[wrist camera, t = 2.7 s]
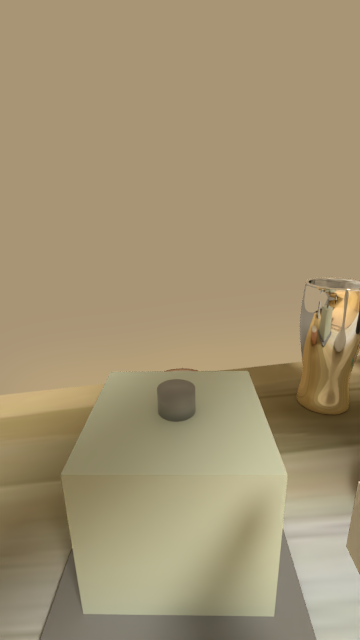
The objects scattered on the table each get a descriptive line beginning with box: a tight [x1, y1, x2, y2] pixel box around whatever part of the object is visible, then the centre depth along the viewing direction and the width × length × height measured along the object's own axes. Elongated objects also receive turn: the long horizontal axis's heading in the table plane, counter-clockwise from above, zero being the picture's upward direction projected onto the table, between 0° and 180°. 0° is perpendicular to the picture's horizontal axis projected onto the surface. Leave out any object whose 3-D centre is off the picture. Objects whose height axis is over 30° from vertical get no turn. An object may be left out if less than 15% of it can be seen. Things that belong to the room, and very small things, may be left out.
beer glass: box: [297, 277, 360, 415], centre depth 39 cm, size 7×7×15 cm
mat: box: [40, 530, 316, 640], centre depth 24 cm, size 15×15×1 cm
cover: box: [61, 371, 288, 617], centre depth 22 cm, size 11×11×12 cm
